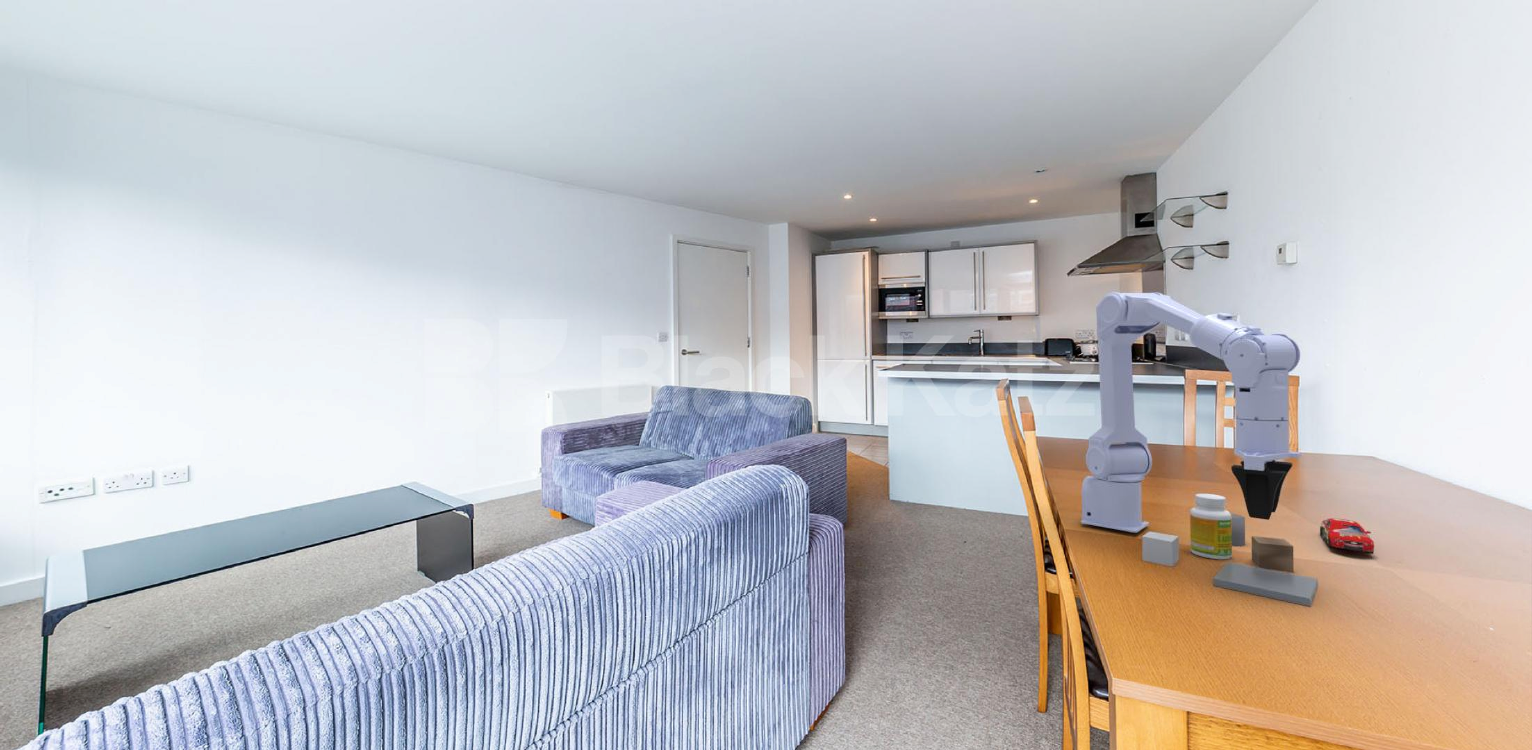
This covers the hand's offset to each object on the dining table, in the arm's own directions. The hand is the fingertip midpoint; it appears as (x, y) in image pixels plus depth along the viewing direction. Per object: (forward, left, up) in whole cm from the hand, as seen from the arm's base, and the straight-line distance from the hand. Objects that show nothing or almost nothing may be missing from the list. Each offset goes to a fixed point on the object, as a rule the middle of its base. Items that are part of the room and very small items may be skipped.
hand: (1262, 514), depth 81 cm
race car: (+8, +27, -12) cm, 31 cm away
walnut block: (0, +11, -10) cm, 15 cm away
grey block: (-13, +2, -10) cm, 16 cm away
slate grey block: (-7, +20, -10) cm, 23 cm away
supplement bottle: (-8, +11, -10) cm, 17 cm away
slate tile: (0, 0, -10) cm, 10 cm away
